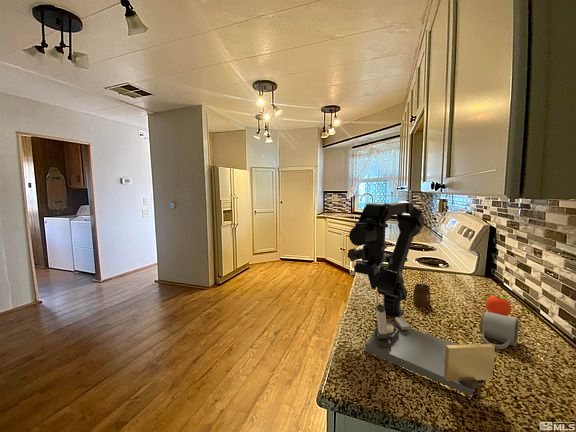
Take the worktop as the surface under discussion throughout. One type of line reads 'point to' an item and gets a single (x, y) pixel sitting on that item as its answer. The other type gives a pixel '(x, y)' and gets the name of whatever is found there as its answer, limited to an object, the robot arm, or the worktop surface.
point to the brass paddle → (469, 363)
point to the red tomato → (498, 305)
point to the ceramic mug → (499, 329)
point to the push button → (390, 329)
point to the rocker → (402, 323)
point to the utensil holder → (422, 293)
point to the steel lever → (382, 323)
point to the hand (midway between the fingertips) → (373, 288)
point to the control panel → (415, 354)
